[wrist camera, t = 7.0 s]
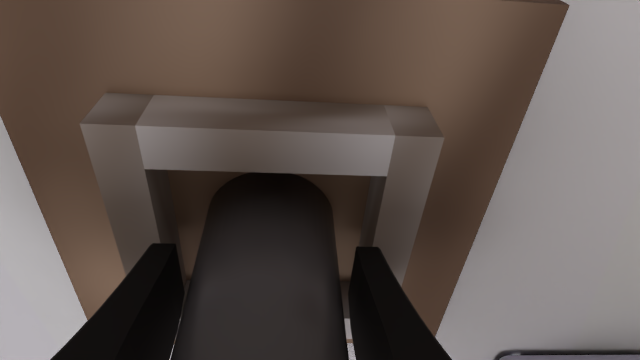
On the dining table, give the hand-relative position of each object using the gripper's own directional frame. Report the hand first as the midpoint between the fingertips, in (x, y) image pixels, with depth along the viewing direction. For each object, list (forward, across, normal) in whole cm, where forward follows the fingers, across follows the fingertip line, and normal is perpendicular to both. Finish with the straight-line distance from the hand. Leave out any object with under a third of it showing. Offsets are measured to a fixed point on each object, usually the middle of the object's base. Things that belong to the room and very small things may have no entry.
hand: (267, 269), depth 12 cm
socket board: (+3, 0, 0) cm, 3 cm away
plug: (+2, 0, 0) cm, 2 cm away
